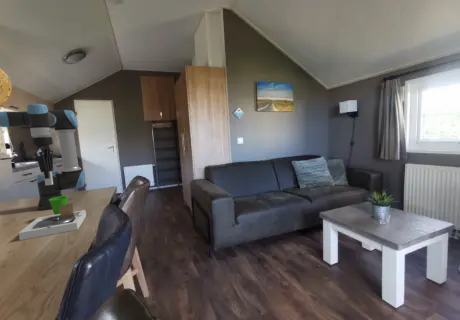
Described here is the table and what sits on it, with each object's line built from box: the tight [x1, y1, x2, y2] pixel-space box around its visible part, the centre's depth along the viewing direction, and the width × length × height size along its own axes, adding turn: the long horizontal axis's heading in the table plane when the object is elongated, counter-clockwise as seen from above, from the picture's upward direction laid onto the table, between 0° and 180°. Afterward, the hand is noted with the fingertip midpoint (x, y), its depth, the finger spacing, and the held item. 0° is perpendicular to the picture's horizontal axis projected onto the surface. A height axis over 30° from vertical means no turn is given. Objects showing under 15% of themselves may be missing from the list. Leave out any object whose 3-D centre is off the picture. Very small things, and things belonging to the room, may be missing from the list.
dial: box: [36, 203, 75, 229], centre depth 114 cm, size 16×16×8 cm
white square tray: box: [18, 209, 87, 241], centre depth 114 cm, size 22×22×4 cm
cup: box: [49, 195, 69, 215], centre depth 130 cm, size 9×9×11 cm
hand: (49, 184), depth 110 cm, fingers closed
